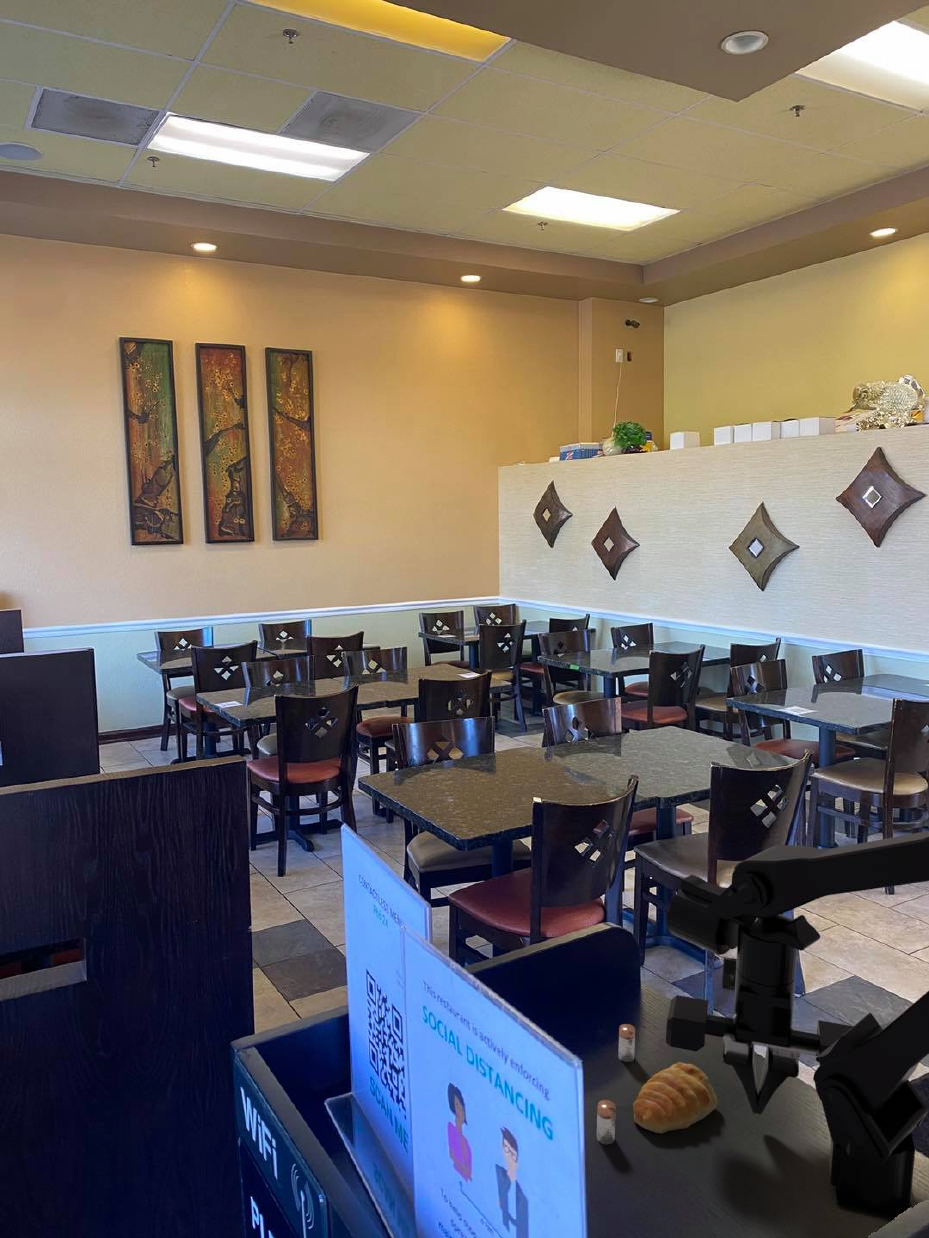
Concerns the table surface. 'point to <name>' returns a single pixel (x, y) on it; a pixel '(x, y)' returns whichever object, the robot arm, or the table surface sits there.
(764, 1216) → the table surface
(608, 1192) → the table surface
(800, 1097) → the table surface
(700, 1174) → the table surface
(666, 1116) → the pastry
